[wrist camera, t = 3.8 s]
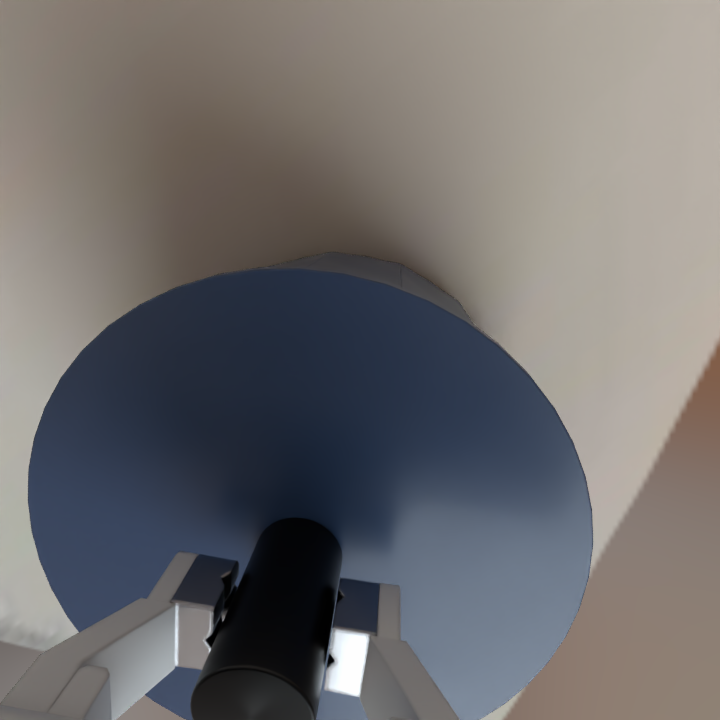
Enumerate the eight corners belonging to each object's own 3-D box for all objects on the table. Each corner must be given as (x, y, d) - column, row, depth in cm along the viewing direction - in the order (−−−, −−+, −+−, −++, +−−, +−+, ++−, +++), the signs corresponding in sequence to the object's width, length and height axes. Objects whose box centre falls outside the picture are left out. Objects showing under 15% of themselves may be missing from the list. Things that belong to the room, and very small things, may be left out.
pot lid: (-13, 576, 16) (-222, 760, 11) (188, 135, 11) (0, 67, 6) (384, 786, 17) (377, 1042, 12) (703, 469, 13) (920, 654, 7)
